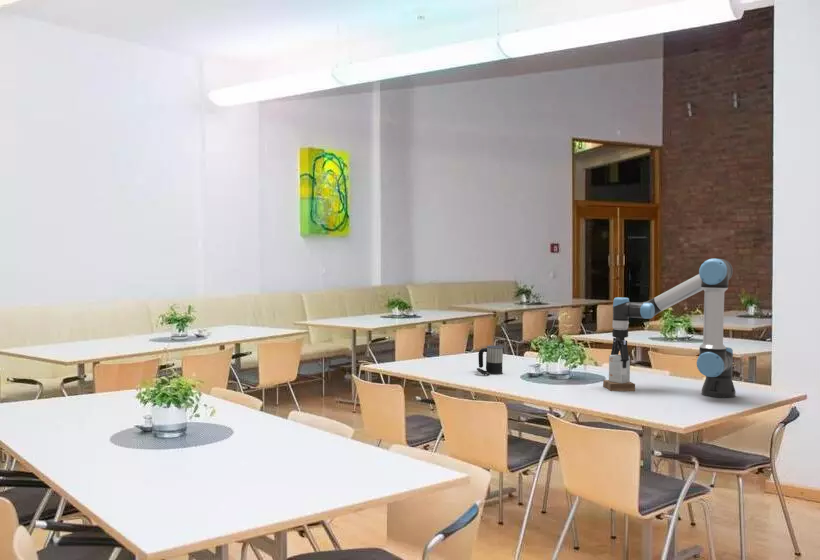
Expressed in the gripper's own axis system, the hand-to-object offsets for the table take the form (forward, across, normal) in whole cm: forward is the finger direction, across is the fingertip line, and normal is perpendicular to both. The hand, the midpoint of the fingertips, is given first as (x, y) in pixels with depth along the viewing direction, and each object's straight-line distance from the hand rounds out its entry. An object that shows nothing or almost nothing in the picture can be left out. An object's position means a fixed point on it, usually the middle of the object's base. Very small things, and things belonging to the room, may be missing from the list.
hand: (619, 372), depth 402 cm
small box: (+5, 0, 0) cm, 5 cm away
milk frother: (+8, +46, +56) cm, 73 cm away
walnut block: (+9, 0, 0) cm, 9 cm away
